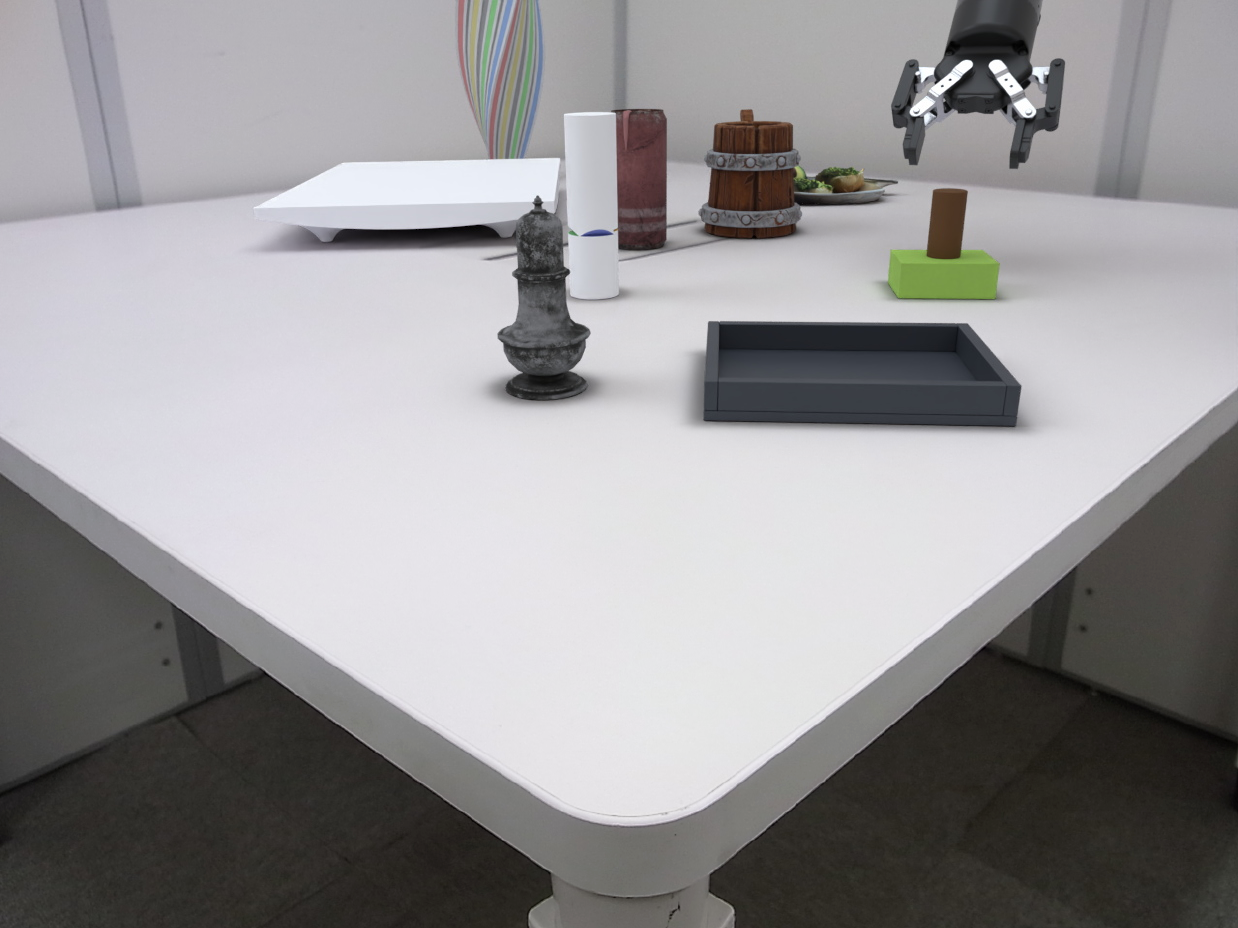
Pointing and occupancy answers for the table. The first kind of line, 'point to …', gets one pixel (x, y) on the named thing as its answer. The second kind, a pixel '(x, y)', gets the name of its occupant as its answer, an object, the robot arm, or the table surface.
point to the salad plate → (836, 187)
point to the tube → (592, 204)
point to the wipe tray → (855, 374)
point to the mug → (751, 179)
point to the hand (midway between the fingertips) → (962, 161)
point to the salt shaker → (543, 314)
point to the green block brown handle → (944, 258)
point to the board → (417, 195)
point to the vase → (502, 70)
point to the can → (641, 178)
